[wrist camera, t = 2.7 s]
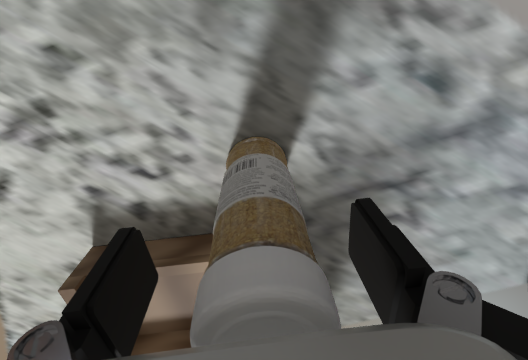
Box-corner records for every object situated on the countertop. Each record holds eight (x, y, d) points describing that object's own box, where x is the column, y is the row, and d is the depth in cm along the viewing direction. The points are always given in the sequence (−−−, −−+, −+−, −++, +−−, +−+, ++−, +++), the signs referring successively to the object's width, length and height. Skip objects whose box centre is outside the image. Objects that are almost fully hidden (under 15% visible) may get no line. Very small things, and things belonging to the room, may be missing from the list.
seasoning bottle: (238, 196, 21) (221, 402, 9) (217, 145, 19) (155, 321, 7) (294, 180, 20) (356, 373, 8) (278, 125, 18) (329, 277, 6)
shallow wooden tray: (276, 226, 22) (282, 265, 18) (285, 303, 27) (290, 348, 23) (92, 246, 22) (57, 290, 18) (131, 320, 27) (111, 368, 23)
